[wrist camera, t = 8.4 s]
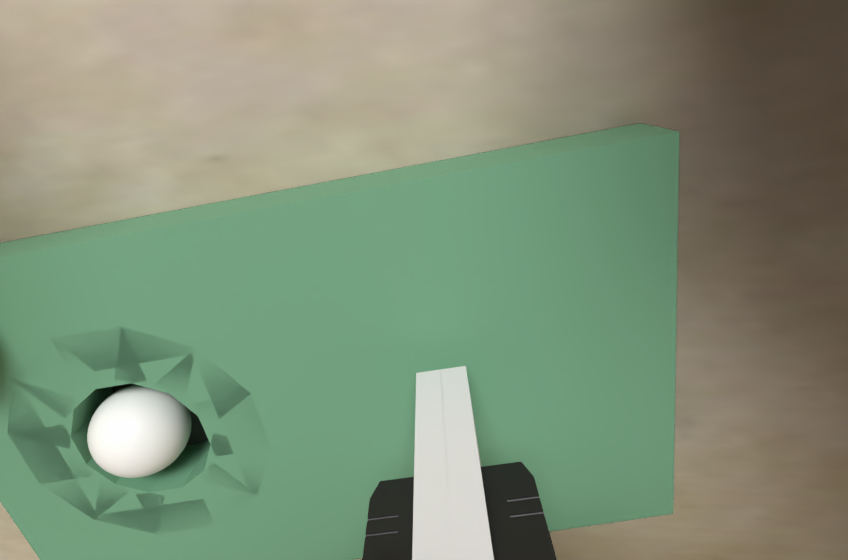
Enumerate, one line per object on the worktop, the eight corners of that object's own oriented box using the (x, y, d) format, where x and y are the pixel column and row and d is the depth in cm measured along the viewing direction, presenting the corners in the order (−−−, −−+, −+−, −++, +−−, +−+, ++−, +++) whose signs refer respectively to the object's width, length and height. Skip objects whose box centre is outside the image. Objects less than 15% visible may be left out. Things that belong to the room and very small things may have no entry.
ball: (200, 372, 18) (167, 380, 20) (98, 389, 15) (72, 396, 18) (211, 462, 17) (176, 460, 20) (107, 494, 15) (80, 488, 17)
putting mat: (640, 123, 15) (679, 131, 13) (644, 465, 21) (673, 513, 18) (-71, 256, 17) (-148, 285, 14) (104, 545, 22) (68, 600, 20)
